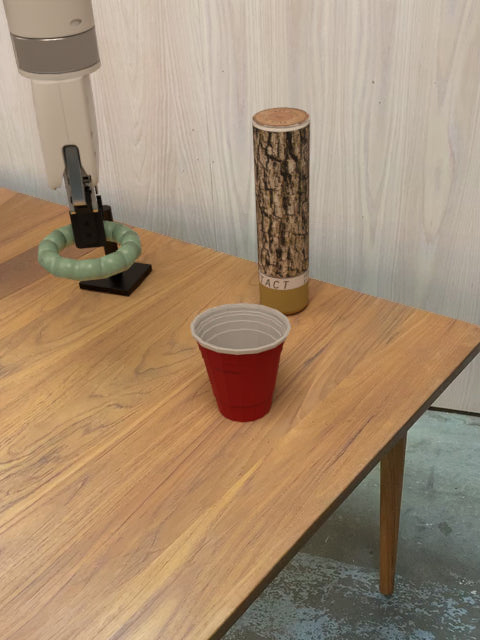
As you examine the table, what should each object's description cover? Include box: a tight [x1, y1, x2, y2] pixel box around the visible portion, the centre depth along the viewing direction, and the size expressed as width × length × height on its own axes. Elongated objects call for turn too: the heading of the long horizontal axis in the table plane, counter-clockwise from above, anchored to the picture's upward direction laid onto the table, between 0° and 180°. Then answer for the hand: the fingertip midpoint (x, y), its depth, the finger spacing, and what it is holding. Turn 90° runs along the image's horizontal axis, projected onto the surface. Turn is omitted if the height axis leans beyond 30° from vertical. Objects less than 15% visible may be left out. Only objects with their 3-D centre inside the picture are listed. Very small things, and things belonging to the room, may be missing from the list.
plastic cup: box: [189, 302, 292, 423], centre depth 87 cm, size 11×11×12 cm
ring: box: [37, 220, 143, 282], centre depth 80 cm, size 10×10×2 cm
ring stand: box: [78, 204, 153, 297], centre depth 111 cm, size 8×8×11 cm
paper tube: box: [251, 106, 311, 316], centre depth 100 cm, size 7×7×25 cm
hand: (91, 238), depth 83 cm, fingers closed on ring, 2 cm apart
